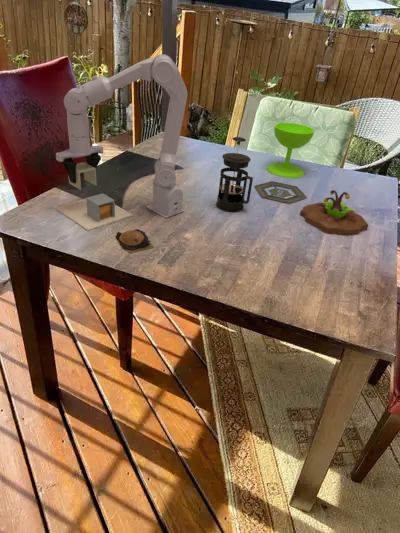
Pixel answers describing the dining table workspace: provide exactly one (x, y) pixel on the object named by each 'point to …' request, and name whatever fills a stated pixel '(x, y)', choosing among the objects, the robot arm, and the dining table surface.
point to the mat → (79, 215)
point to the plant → (334, 216)
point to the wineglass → (290, 147)
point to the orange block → (104, 211)
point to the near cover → (97, 201)
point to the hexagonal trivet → (285, 193)
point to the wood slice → (134, 241)
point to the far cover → (88, 174)
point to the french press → (233, 190)
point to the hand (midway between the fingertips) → (82, 180)
